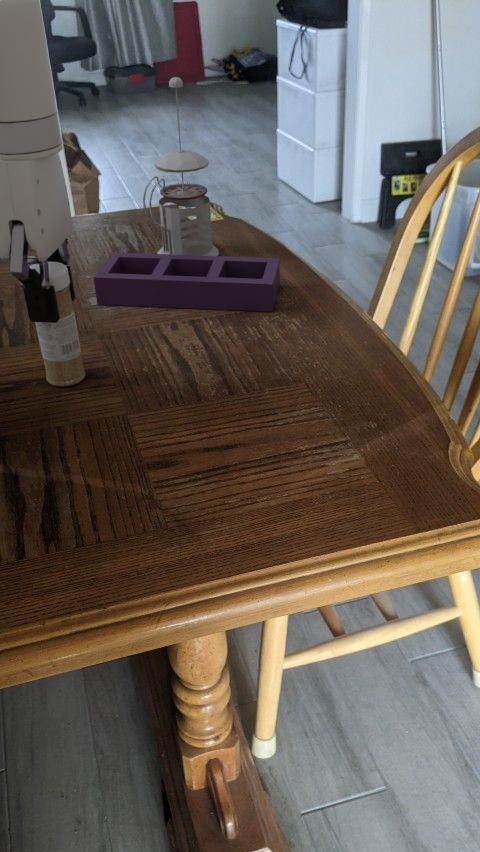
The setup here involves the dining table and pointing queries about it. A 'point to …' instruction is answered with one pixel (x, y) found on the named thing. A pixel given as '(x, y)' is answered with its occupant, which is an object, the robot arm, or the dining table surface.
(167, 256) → the compartment tray
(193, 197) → the french press
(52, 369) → the sprinkles bottle
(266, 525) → the dining table surface
